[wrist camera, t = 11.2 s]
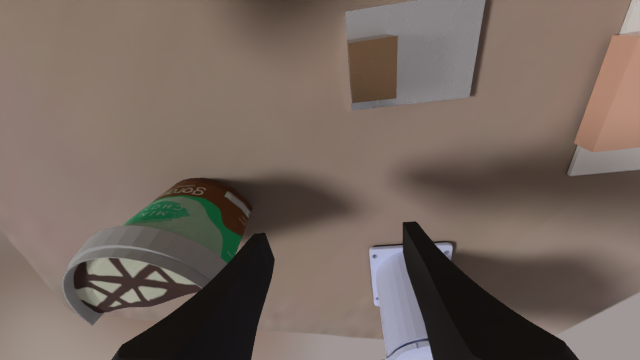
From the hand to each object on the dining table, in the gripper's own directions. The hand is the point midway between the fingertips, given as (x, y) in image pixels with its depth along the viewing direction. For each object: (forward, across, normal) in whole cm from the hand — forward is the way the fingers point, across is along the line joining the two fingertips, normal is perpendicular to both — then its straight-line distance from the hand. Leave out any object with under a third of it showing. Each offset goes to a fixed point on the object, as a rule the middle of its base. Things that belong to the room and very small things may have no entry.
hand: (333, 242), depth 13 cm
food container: (+10, +14, +2) cm, 17 cm away
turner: (+10, -6, -7) cm, 13 cm away
